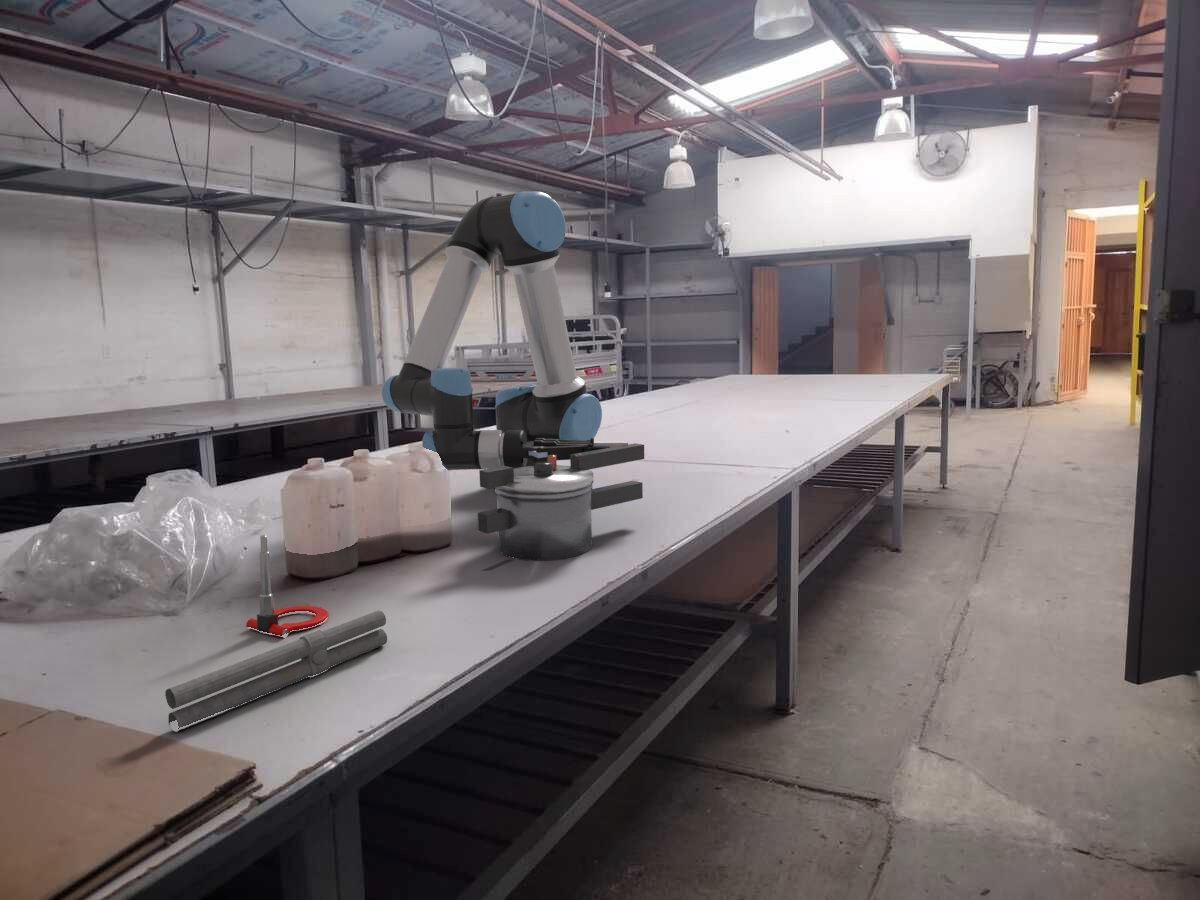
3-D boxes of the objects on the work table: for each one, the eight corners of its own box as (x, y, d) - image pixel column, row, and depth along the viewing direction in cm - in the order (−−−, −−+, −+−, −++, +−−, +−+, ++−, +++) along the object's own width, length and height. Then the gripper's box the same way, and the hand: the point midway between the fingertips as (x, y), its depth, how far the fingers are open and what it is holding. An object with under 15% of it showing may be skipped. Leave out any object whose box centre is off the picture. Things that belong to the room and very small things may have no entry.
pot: (507, 521, 156) (505, 465, 154) (643, 521, 154) (642, 464, 152) (477, 563, 130) (474, 497, 128) (640, 564, 128) (639, 496, 126)
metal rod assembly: (181, 738, 78) (175, 690, 77) (167, 730, 80) (162, 683, 79) (393, 647, 99) (390, 609, 98) (378, 642, 100) (376, 604, 99)
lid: (515, 502, 123) (514, 477, 122) (456, 486, 135) (454, 463, 135) (672, 469, 146) (672, 448, 145) (609, 457, 158) (609, 438, 158)
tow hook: (298, 609, 113) (241, 630, 105) (295, 519, 111) (236, 532, 103) (342, 620, 109) (285, 642, 101) (338, 526, 107) (280, 541, 99)
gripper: (511, 462, 161) (629, 462, 159) (498, 475, 148) (627, 475, 146) (510, 425, 160) (629, 424, 158) (497, 435, 147) (626, 434, 145)
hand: (628, 449), depth 152 cm, fingers closed
